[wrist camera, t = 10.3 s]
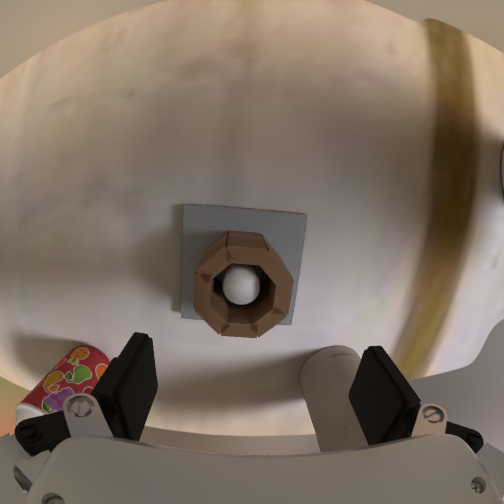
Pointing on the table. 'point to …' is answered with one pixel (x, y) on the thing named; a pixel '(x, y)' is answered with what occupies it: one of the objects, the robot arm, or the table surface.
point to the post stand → (235, 275)
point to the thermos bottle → (332, 398)
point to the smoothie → (64, 382)
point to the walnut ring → (262, 307)
